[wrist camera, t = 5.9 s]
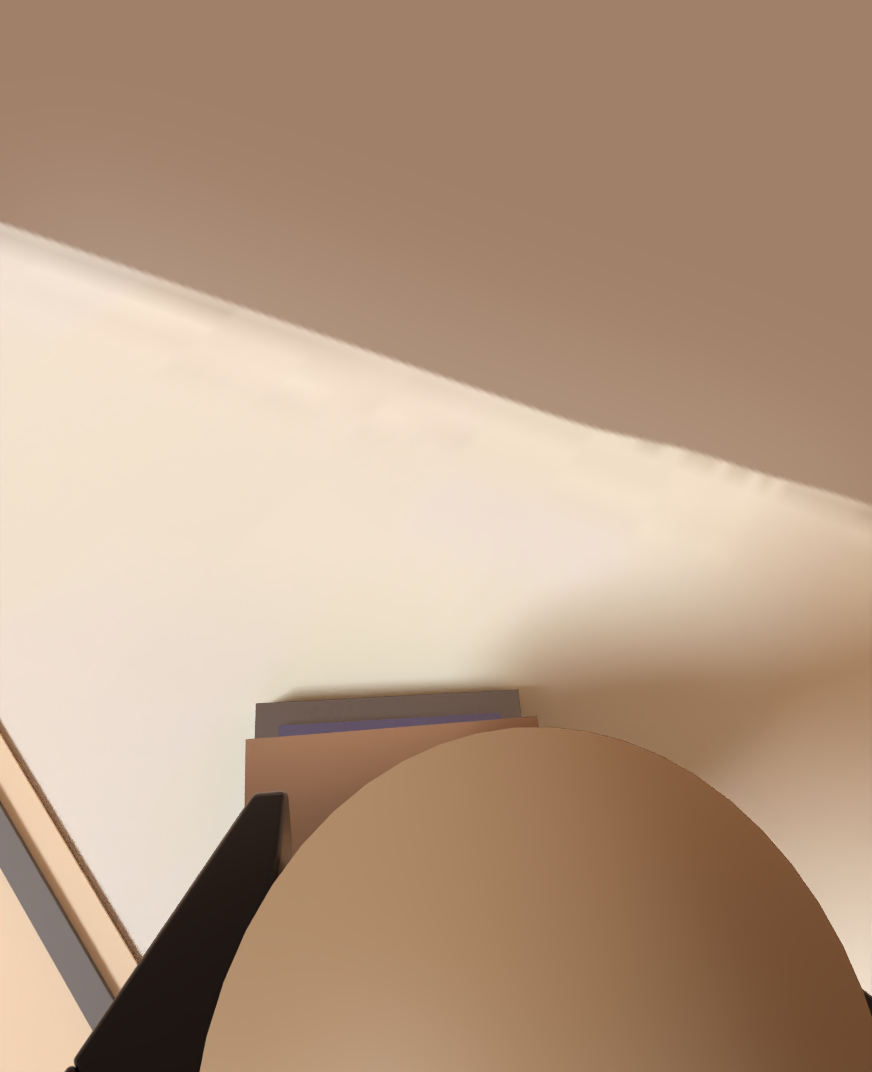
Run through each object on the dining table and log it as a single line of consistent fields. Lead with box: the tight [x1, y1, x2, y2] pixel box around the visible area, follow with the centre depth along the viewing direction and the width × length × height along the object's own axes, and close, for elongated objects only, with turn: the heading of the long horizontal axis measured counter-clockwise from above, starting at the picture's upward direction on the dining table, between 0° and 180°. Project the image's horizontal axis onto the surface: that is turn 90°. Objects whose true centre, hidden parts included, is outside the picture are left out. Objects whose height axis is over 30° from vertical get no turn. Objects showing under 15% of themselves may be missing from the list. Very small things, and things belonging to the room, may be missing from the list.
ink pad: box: [255, 690, 521, 739], centre depth 19 cm, size 10×8×1 cm
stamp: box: [200, 716, 872, 1072], centre depth 9 cm, size 5×5×12 cm
